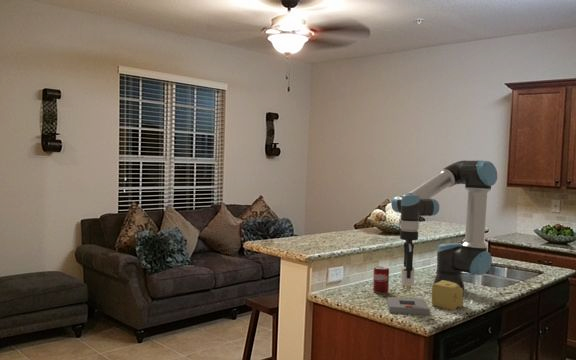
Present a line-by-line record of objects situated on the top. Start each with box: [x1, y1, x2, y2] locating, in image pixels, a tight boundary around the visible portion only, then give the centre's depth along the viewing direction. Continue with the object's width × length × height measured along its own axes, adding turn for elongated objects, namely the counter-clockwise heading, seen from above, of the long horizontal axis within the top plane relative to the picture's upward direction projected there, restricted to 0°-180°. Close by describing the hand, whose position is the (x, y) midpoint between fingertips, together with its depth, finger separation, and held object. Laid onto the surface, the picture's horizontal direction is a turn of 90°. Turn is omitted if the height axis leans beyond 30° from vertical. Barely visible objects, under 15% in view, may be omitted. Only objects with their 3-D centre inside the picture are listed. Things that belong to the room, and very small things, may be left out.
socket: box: [386, 296, 430, 316], centre depth 221 cm, size 16×16×3 cm
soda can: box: [372, 265, 390, 295], centre depth 248 cm, size 7×7×12 cm
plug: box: [400, 266, 415, 291], centre depth 220 cm, size 5×5×11 cm
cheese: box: [431, 280, 464, 311], centre depth 226 cm, size 10×11×10 cm
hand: (407, 284), depth 220 cm, fingers closed on plug, 5 cm apart
